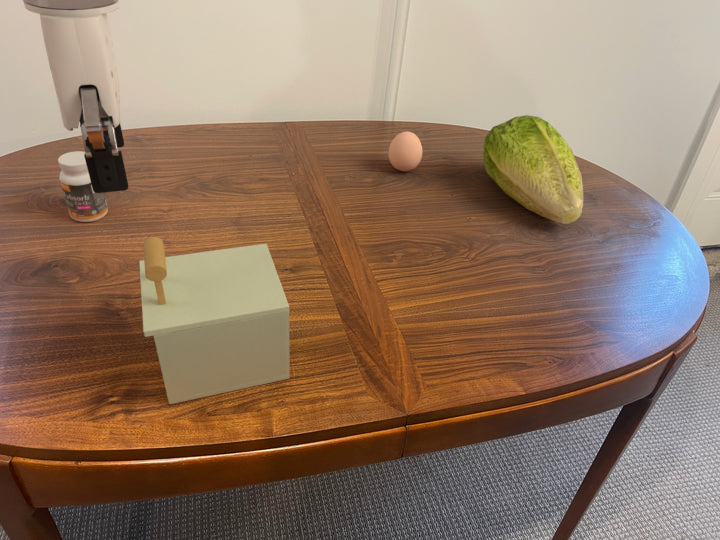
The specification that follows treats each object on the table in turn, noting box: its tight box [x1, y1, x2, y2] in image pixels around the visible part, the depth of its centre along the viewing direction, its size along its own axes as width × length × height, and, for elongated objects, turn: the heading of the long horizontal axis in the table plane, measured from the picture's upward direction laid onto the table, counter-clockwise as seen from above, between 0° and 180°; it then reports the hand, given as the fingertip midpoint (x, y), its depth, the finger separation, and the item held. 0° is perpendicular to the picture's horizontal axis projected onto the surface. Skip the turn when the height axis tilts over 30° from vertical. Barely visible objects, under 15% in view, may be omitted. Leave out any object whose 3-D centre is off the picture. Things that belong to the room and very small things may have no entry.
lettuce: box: [482, 114, 585, 225], centre depth 98 cm, size 14×24×15 cm
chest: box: [153, 311, 291, 405], centre depth 62 cm, size 14×12×11 cm
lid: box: [138, 236, 290, 338], centre depth 57 cm, size 14×12×6 cm
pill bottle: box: [57, 150, 109, 223], centre depth 83 cm, size 6×6×10 cm
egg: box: [387, 131, 424, 172], centre depth 104 cm, size 7×7×8 cm
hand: (110, 167), depth 56 cm, fingers open, 9 cm apart
